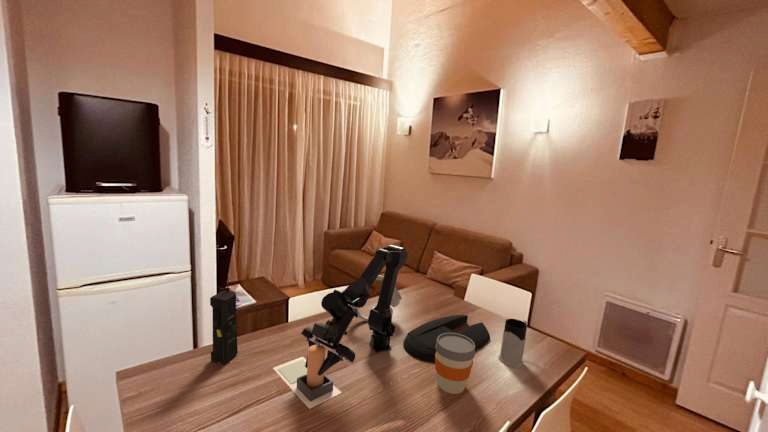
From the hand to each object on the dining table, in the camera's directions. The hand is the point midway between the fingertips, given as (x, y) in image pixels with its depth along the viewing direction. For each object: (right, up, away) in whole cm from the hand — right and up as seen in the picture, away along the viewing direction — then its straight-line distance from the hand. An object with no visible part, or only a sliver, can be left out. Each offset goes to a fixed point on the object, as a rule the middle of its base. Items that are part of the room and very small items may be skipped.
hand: (312, 371), depth 100 cm
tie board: (-3, -6, +6) cm, 10 cm away
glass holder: (+71, -8, +29) cm, 77 cm away
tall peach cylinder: (0, -6, +2) cm, 7 cm away
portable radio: (-33, -3, +15) cm, 37 cm away
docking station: (+46, -5, +39) cm, 61 cm away
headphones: (+17, -1, +51) cm, 54 cm away
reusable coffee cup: (+43, -9, +11) cm, 45 cm away
